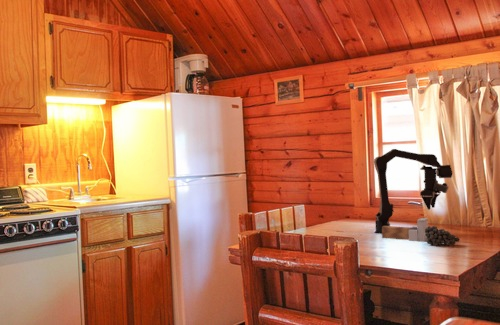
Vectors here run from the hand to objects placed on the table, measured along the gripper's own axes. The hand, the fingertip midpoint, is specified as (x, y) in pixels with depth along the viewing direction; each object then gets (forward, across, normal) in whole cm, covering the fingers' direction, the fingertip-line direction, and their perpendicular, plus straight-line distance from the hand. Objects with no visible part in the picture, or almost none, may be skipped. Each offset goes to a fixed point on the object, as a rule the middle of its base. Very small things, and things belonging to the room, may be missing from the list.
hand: (431, 208), depth 258 cm
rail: (+12, -26, +9) cm, 30 cm away
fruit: (+12, -36, -12) cm, 40 cm away
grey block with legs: (+12, -26, 0) cm, 29 cm away
